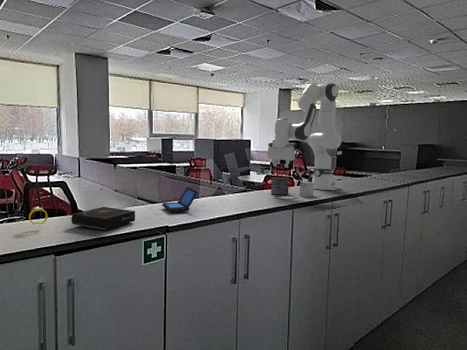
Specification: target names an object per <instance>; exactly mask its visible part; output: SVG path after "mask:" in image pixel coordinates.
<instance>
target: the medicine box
mask: <svg viewBox="0 0 467 350" xmlns="http://www.w3.org/2000/svg"><path fill="white" fill-rule="evenodd" d="M313 188H314V183H312V181H302V182H300V183H299V197H303V198H304V197H305V198H307V197H313V196H314V189H313Z"/></svg>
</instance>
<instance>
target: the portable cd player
mask: <svg viewBox="0 0 467 350" xmlns="http://www.w3.org/2000/svg"><path fill="white" fill-rule="evenodd" d="M70 221H71V224H72V225H76V226H82V227H87V228H93V229H98V230H99V229H100V230H103V231H104V230H105V231H107V230H110V229H113V228H116V227H120V226H122V225H126V224H129V223H132V222H136V211H135V210H131V209H130V210H129V209H121V208H115V207H106V206H101V207H97V208H92V209H88V210H83V211H79V212H74V213H72V214H71V220H70Z"/></svg>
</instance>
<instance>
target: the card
mask: <svg viewBox="0 0 467 350" xmlns="http://www.w3.org/2000/svg"><path fill="white" fill-rule="evenodd" d="M274 199H277V200H282V201H288V200H289V201H290V200H296V199H299V197H298V196H292V195H282V196H277V197H276V196H275V198H274Z"/></svg>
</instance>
